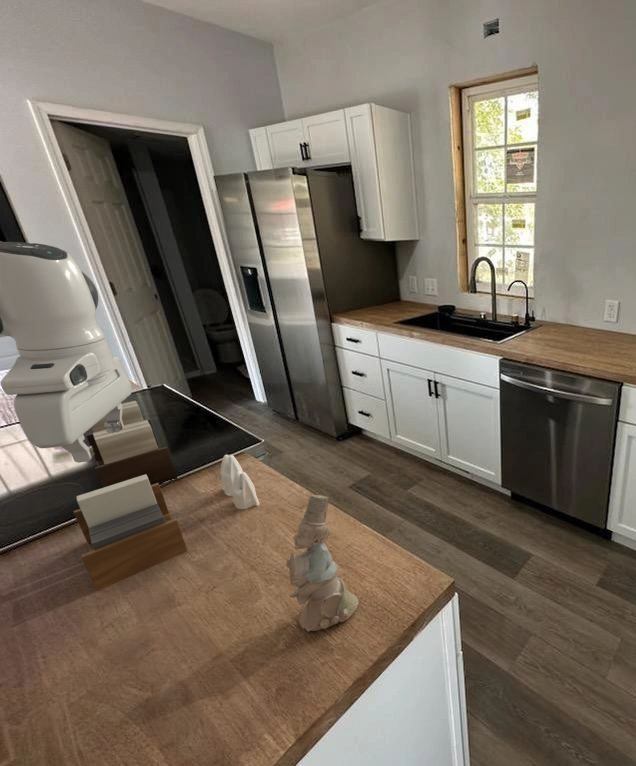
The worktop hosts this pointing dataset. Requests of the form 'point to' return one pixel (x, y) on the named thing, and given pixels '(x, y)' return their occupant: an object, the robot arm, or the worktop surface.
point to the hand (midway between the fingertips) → (101, 444)
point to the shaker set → (237, 484)
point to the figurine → (318, 572)
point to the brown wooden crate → (130, 450)
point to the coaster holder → (131, 542)
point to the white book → (116, 500)
